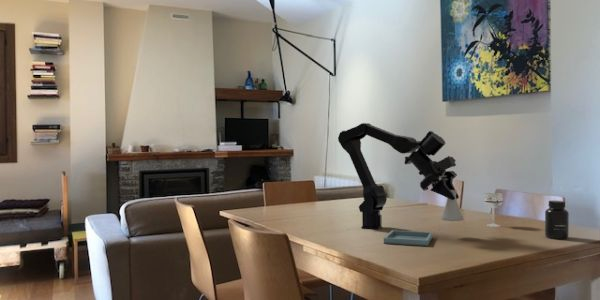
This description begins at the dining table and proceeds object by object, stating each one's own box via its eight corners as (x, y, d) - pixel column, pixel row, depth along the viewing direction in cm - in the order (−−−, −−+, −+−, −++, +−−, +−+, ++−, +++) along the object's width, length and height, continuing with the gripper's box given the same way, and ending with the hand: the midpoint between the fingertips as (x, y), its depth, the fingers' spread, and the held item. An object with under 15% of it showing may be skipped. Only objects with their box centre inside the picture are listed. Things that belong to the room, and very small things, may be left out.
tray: (383, 243, 149) (383, 237, 149) (391, 235, 162) (391, 230, 162) (427, 246, 144) (427, 240, 144) (432, 237, 157) (432, 232, 157)
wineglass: (499, 224, 181) (499, 192, 180) (505, 227, 174) (505, 194, 174) (481, 224, 181) (481, 193, 181) (486, 227, 174) (486, 195, 174)
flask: (464, 222, 153) (463, 191, 153) (441, 221, 155) (440, 191, 155) (463, 218, 160) (462, 189, 160) (441, 218, 162) (440, 189, 162)
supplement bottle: (560, 240, 149) (559, 203, 149) (540, 237, 155) (540, 200, 155) (573, 238, 152) (573, 201, 152) (553, 234, 158) (553, 199, 158)
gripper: (428, 149, 152) (462, 184, 145) (451, 148, 167) (482, 180, 160) (406, 172, 157) (438, 208, 150) (430, 169, 172) (460, 201, 165)
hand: (456, 198), depth 156 cm, fingers closed on flask, 3 cm apart
